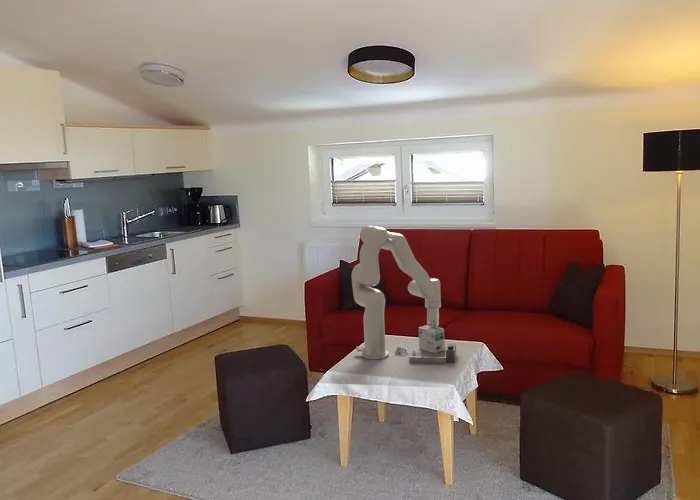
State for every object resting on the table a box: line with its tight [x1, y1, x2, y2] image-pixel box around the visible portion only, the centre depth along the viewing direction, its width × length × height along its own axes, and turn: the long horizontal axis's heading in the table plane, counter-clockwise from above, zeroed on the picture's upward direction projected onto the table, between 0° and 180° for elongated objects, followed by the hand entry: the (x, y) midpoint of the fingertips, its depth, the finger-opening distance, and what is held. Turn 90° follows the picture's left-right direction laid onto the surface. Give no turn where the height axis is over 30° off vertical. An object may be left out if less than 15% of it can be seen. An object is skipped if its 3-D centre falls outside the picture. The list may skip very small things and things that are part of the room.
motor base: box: [408, 342, 457, 365], centre depth 280 cm, size 20×16×7 cm
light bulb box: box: [418, 324, 446, 354], centre depth 292 cm, size 11×7×11 cm, turn 40°
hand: (434, 340), depth 303 cm, fingers closed
